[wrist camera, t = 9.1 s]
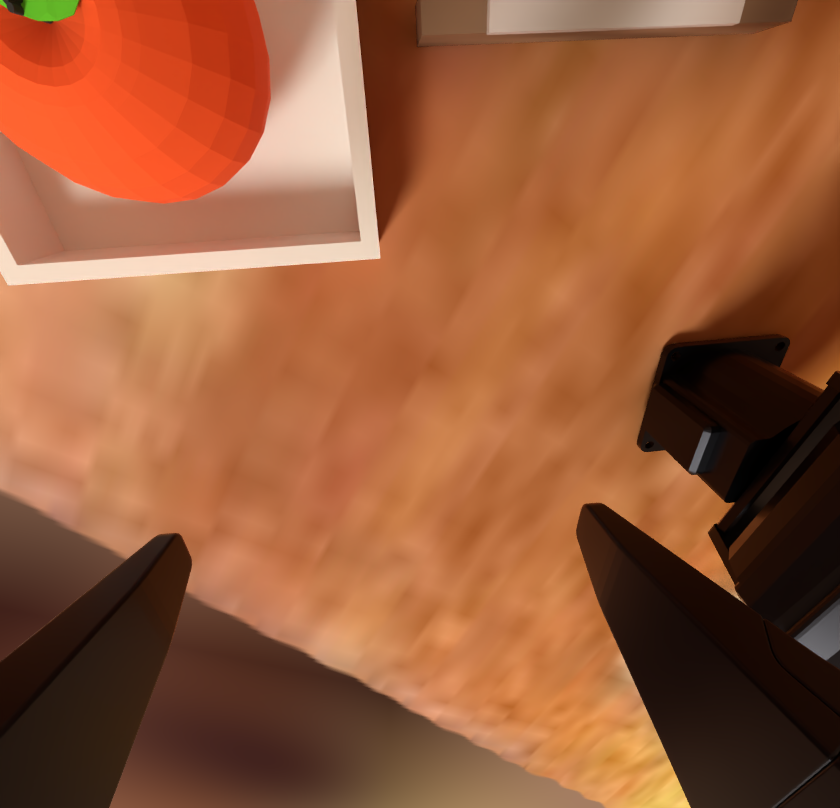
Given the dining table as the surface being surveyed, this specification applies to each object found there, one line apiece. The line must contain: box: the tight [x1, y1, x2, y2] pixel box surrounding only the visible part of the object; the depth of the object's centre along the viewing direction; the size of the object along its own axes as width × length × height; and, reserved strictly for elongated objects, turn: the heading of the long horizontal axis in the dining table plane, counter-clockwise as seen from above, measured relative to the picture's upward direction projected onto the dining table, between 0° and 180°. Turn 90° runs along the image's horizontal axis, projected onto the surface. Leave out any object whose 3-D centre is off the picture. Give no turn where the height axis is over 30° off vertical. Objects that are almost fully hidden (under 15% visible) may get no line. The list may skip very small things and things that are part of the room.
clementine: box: [0, 0, 271, 204], centre depth 10 cm, size 8×7×7 cm
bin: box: [0, 0, 380, 286], centre depth 12 cm, size 12×12×3 cm
